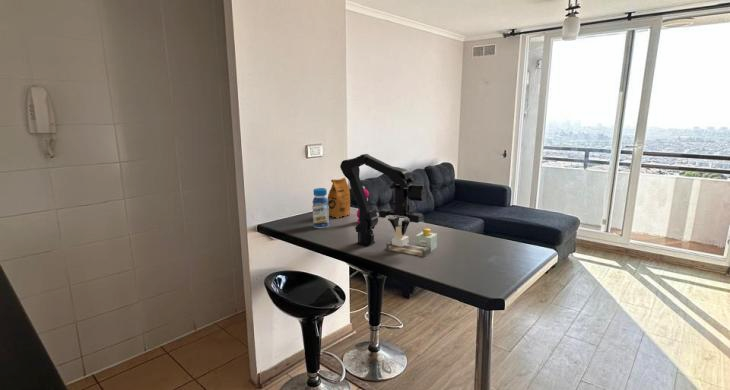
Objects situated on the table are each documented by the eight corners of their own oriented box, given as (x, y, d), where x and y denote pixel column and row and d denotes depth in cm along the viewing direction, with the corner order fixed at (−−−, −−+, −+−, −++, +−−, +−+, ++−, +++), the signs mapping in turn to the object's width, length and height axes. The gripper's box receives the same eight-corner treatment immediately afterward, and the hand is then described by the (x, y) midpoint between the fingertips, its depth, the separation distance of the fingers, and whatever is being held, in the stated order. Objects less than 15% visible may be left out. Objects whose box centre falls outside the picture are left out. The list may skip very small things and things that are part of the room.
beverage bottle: (332, 225, 205) (331, 188, 201) (322, 229, 198) (321, 191, 194) (320, 223, 209) (318, 187, 206) (309, 227, 202) (308, 189, 199)
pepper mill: (368, 224, 207) (368, 187, 203) (355, 223, 208) (355, 187, 204) (371, 221, 214) (371, 185, 210) (358, 220, 215) (358, 184, 211)
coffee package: (325, 216, 224) (324, 178, 220) (340, 212, 233) (340, 176, 229) (337, 219, 218) (336, 180, 213) (352, 215, 227) (352, 178, 222)
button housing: (415, 249, 168) (415, 235, 166) (422, 244, 174) (422, 231, 173) (430, 251, 164) (430, 238, 163) (436, 246, 170) (437, 233, 169)
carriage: (391, 244, 166) (392, 226, 164) (398, 240, 171) (398, 223, 169) (402, 246, 163) (402, 228, 162) (408, 242, 168) (408, 225, 167)
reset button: (421, 241, 168) (421, 229, 167) (424, 239, 171) (424, 228, 170) (428, 242, 166) (428, 231, 165) (431, 240, 169) (431, 229, 168)
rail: (386, 249, 168) (386, 243, 167) (393, 245, 173) (393, 240, 172) (425, 256, 158) (425, 250, 158) (430, 252, 163) (430, 246, 163)
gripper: (429, 198, 165) (428, 233, 168) (390, 193, 175) (390, 227, 178) (418, 203, 156) (417, 240, 159) (378, 198, 165) (378, 233, 168)
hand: (400, 234), depth 166 cm, fingers closed on carriage, 2 cm apart
